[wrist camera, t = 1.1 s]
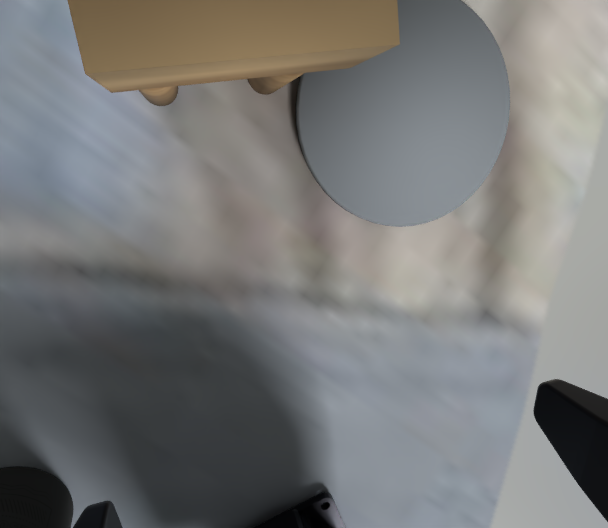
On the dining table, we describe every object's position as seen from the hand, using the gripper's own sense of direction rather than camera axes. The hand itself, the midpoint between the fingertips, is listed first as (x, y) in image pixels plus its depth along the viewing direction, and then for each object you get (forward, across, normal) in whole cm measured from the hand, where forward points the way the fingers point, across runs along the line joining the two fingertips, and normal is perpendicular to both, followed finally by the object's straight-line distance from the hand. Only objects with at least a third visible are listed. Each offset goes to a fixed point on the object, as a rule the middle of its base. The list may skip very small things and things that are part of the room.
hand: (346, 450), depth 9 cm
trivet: (+13, -8, -4) cm, 16 cm away
